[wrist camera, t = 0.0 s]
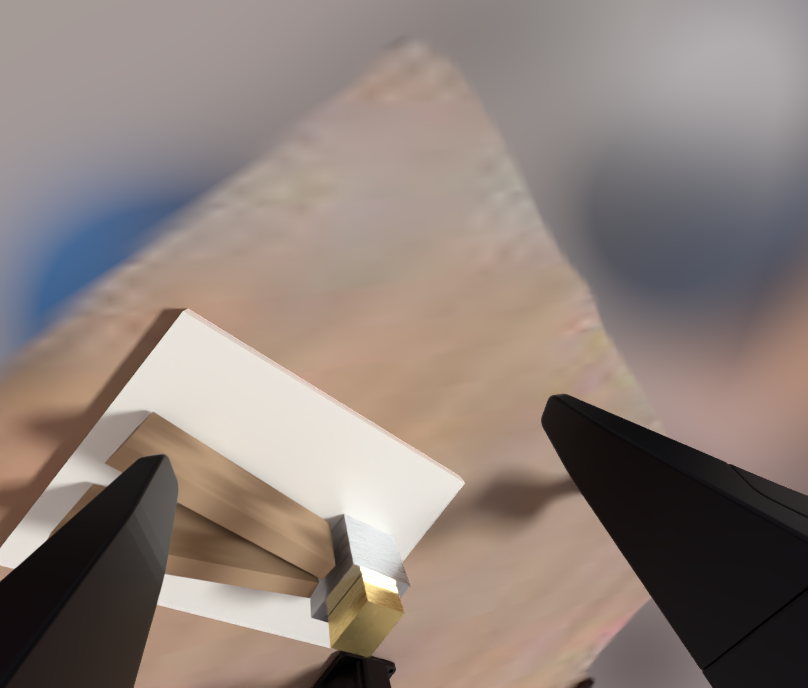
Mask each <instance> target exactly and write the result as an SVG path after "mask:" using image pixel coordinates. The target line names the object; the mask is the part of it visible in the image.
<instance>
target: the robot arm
mask: <svg viewBox="0 0 808 688" xmlns="http://www.w3.org/2000/svg"><path fill="white" fill-rule="evenodd" d="M541 423H542V427H543V429H544V430H545V432H546V434H547V436H548V438H549V439H550V441H551V443H552V445H553V447H554V449H555V450H556V452H557V454H558V456H559V458H560V459H561V461H562V463H563V465H564V467H565V468H566V470H567V472H568V473H569V475H570V477H571V478H572V480H573V482H574V483H575V485H576V486H577V488H578V489H579V491H580V492H581V493H582V495H583V496H584V498H585V499H586V501H587V502H588V504H589V505H590V507H591V508H592V510H593V511H594V513H595V514H596V516H597V517H598V519H599V520H600V522H601V523H602V525H603V526H604V527H605V529H606V530H607V532H608V533H609V535H610V536H611V538H612V539H613V541H614V542H615V544H616V545H617V547H618V548H619V550H620V551H621V553H622V554H623V556H624V557H625V558H626V560H627V561H628V563H629V564H630V566H631V567H632V569H633V570H634V572H635V573H636V575H637V576H638V578H639V579H640V581H641V582H642V584H643V585H644V587H645V588H646V590H647V591H648V592H649V594H650V595H651V597H652V598H653V600H654V601H655V603H656V604H657V606H658V607H659V609H660V610H661V612H662V613H663V615H664V616H665V618H666V619H667V620H668V622H669V623H670V625H671V626H672V628H673V629H674V631H675V632H676V634H677V635H678V637H679V638H680V640H681V641H682V643H683V644H684V646H685V647H686V649H687V650H688V652H689V653H690V655H691V656H692V657H693V659H694V660H695V662H696V663H697V665H698V666H699V668H700V669H701V670H702V673H703V674H704V676H705V677H706V679H707V680H708V682H709V683H710V685H711V686H712V688H808V496H807V495H804V494H802V493H799V492H797V491H794V490H792V489H789V488H787V487H784V486H781V485H779V484H777V483H774V482H772V481H769V480H767V479H764V478H762V477H760V476H757V475H755V474H753V473H750V472H748V471H745V470H743V469H741V468H739V467H736V466H734V465H731V464H727V463H726V462H724V461H722V460H719V459H717V458H715V457H712V456H710V455H708V454H705V453H703V452H701V451H699V450H696V449H694V448H691V447H689V446H687V445H684V444H682V443H680V442H677V441H675V440H673V439H670V438H668V437H666V436H663V435H661V434H659V433H656V432H654V431H652V430H649V429H647V428H645V427H642V426H640V425H638V424H635V423H633V422H631V421H628V420H626V419H624V418H621V417H619V416H617V415H614V414H612V413H610V412H607V411H605V410H602V409H600V408H598V407H595V406H593V405H591V404H588V403H586V402H584V401H581V400H579V399H577V398H574V397H572V396H570V395H567V394H557V395H552V396H550V397H549V399H548V401H547V404H546V406H545V409H544V412H543V415H542V418H541ZM178 489H179V488H178V481H177V478H176V475H175V472H174V470H173V467H172V464H171V462H170V459H169V457H168V456H167V455H166V454H156V455H149V456H143V457H141V458H139V459H137V460H136V461H135V462H134V463H133V464H132V465H130V466H129V467H128V468H127V469H126V470H125V471H124V472H123V473H122V474H120V475H119V476H118V477H117V478H116V479H115V480H114V481H113V482H111V483H110V484H109V485H108V486H107V487H106V488H105V489H104V490H102V491H101V492H100V493H99V494H98V495H97V496H96V497H95V498H93V499H92V500H91V501H90V502H89V503H88V504H87V505H86V506H84V507H83V508H82V509H81V510H80V511H79V512H78V513H77V514H76V515H74V516H73V517H72V518H71V519H70V520H69V521H68V522H67V523H65V524H64V525H63V526H62V527H61V528H60V529H59V530H58V531H56V532H55V533H54V534H53V535H52V536H51V537H50V538H49V539H47V540H46V541H45V542H44V543H43V544H42V545H41V546H40V547H38V548H37V549H36V550H35V551H34V552H33V553H32V554H31V555H30V556H28V557H27V558H26V559H25V560H24V561H23V562H22V563H21V564H19V565H18V566H17V567H16V568H15V569H14V570H13V571H12V572H10V573H9V574H8V575H7V576H6V577H5V578H4V579H3V580H1V581H0V688H134V684H135V681H136V677H137V673H138V670H139V666H140V663H141V659H142V656H143V652H144V648H145V645H146V641H147V638H148V634H149V631H150V627H151V623H152V620H153V616H154V613H155V609H156V605H157V602H158V598H159V595H160V591H161V587H162V583H163V579H164V575H165V571H166V565H167V560H168V554H169V547H170V541H171V535H172V529H173V523H174V517H175V510H176V504H177V498H178ZM395 671H396V667H395V664H394V663H393V662H390V661H386V660H382V659H378V658H374V657H365V656H361V655H357V654H353V653H349V652H345V651H343V652H341V653H340V654H339V656H338V657H337V658H336V659H335V661H334V662H333V663H332V664H331V666H330V667H329V668H328V669H327V671H326V672H325V673H324V675H323V676H322V677H321V678H320V680H319V681H318V682H317V683H316V685H315V686H314V687H313V688H391V685H390V680H389V679H390V678H391V676H392V675H393V674H394V672H395Z"/></svg>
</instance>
